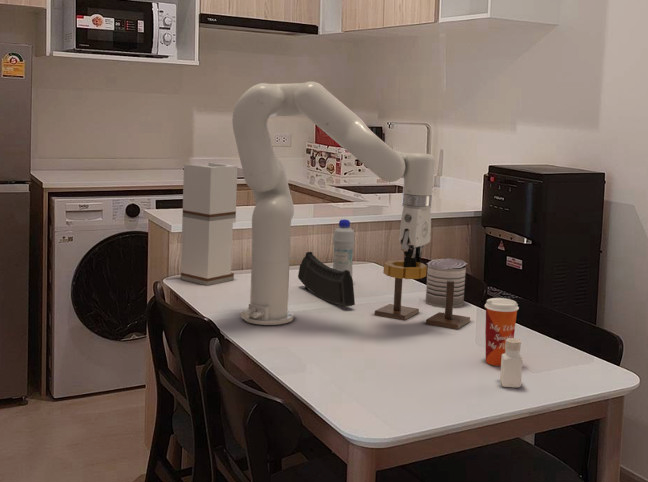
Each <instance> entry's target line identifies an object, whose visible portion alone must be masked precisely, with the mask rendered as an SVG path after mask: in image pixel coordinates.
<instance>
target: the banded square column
mask: <svg viewBox="0 0 648 482" xmlns="http://www.w3.org/2000/svg"><path fill="white" fill-rule="evenodd" d="M182 181H183V182H182V183H183V184H182V185H183V186H182V187H183V188H182V217H181V218H182V221H181V252H180V253H181V256H180V257H181V258H180V280H183V281H187V282H191V283H195V284H199V285H204V286H210V285H216V284H221V283H225V282H231V281H234V279H235V278H234V277H235V275H234V274H235V273H234V272H232V259H233V254H232V253H233V230H234V229H233V228H234V226H233V224H234V223H235V224H236V221H237V219H236V218H237V193H238V189H237V188H238V165H232V164H224V163H215V162H208V166H207V165H197V164H192V163H191V164H189V163H184V164H183V180H182Z"/></svg>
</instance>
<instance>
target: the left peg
mask: <svg viewBox="0 0 648 482" xmlns="http://www.w3.org/2000/svg"><path fill="white" fill-rule="evenodd" d="M393 293H394V294H393V303H389V304H386V305H384V306H382V307H379V308H378V309H376V310H374V316H379V317H384V318H390V319H395V320H402V321H406V320H408V319H410V318H412V317H414V316H416V315H417V314H419V313H420V308H418V307H411V306H405V305H402V295H403V294H402V293H403V279H400V278H394V291H393Z"/></svg>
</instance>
